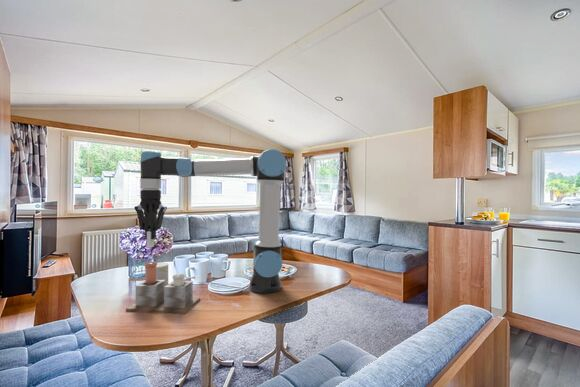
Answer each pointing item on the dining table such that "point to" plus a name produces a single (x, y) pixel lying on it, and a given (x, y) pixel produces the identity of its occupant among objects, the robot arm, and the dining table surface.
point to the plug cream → (178, 279)
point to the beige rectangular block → (162, 272)
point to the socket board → (164, 298)
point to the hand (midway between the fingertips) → (150, 246)
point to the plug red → (150, 273)
